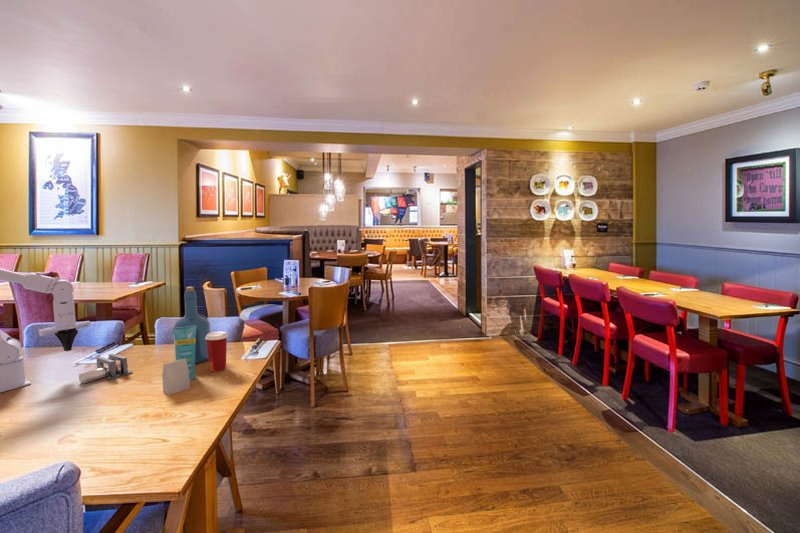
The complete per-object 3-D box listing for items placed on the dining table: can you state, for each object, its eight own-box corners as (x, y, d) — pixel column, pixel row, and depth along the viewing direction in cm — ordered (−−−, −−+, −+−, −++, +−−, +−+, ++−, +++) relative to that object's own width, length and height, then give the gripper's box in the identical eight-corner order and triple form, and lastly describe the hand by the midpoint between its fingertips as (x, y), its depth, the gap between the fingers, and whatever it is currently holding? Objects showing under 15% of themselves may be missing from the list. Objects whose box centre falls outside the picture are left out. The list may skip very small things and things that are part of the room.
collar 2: (121, 376, 141) (120, 359, 140) (105, 371, 146) (103, 355, 145) (132, 373, 144) (131, 356, 144) (115, 368, 149) (114, 352, 148)
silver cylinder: (83, 385, 134) (84, 376, 133) (78, 381, 135) (79, 372, 135) (127, 372, 146) (128, 363, 145) (122, 368, 148) (123, 359, 147)
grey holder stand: (109, 380, 137) (108, 363, 137) (92, 374, 142) (91, 358, 142) (120, 376, 141) (119, 360, 140) (103, 371, 146) (102, 355, 145)
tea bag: (189, 388, 131) (188, 359, 130) (167, 395, 126) (166, 365, 125) (184, 385, 134) (183, 357, 133) (163, 392, 128) (161, 362, 127)
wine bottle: (196, 366, 151) (192, 290, 148) (167, 364, 154) (162, 289, 151) (219, 355, 165) (216, 285, 161) (192, 353, 167) (188, 283, 164)
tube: (176, 382, 136) (173, 329, 134) (175, 378, 140) (172, 326, 138) (199, 378, 140) (197, 326, 138) (198, 374, 144) (195, 323, 142)
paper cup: (232, 366, 152) (231, 331, 150) (221, 373, 144) (220, 336, 143) (213, 365, 153) (212, 330, 151) (202, 372, 145) (200, 336, 144)
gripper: (44, 319, 131) (47, 358, 132) (93, 310, 144) (96, 346, 145) (34, 316, 134) (38, 354, 135) (83, 308, 147) (86, 343, 148)
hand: (67, 350), depth 141 cm, fingers closed
